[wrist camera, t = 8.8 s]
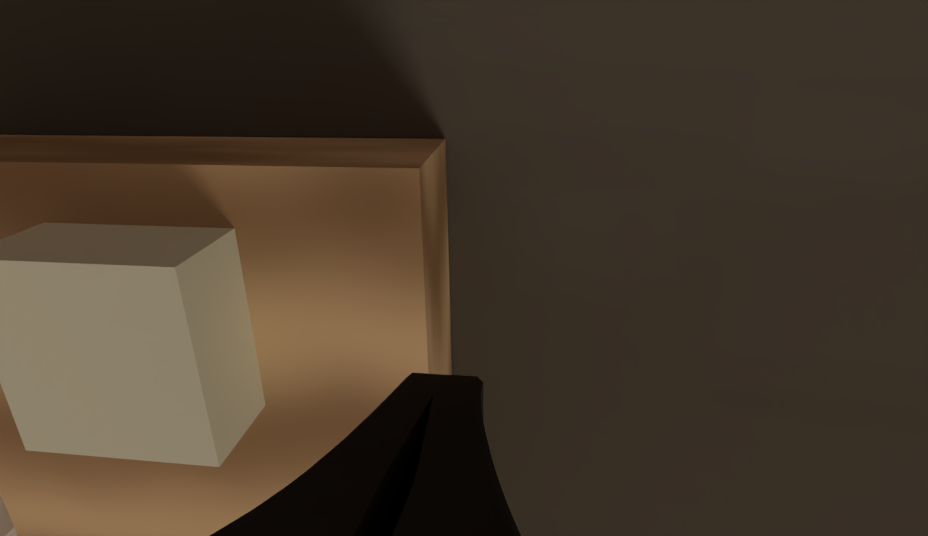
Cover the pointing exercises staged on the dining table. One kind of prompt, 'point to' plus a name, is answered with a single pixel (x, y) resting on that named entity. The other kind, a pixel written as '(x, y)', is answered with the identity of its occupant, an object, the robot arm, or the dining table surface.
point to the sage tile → (127, 341)
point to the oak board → (269, 301)
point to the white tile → (4, 519)
